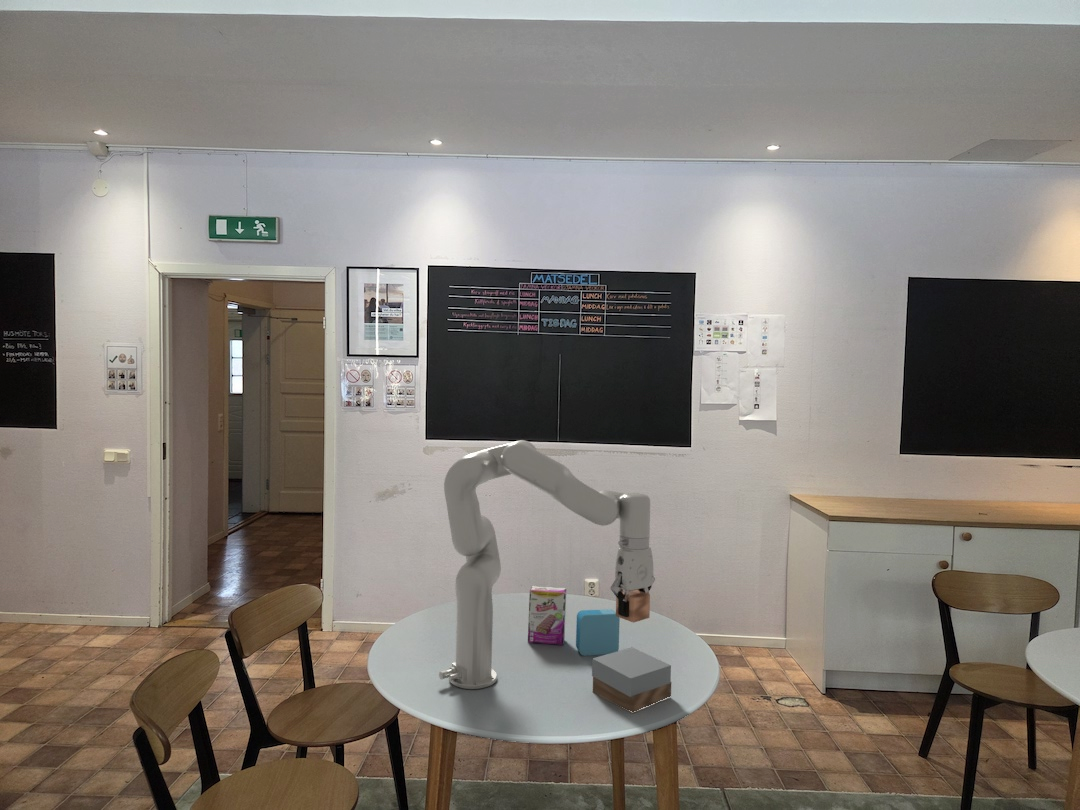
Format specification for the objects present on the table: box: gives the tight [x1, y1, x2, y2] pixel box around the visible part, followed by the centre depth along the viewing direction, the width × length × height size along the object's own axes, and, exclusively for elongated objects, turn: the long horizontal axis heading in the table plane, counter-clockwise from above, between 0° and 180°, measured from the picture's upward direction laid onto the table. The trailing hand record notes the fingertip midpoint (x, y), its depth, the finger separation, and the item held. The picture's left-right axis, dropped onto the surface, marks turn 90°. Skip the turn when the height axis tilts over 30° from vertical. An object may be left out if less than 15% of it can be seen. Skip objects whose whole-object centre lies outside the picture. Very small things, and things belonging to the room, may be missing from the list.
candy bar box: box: [527, 585, 567, 646], centre depth 203 cm, size 11×5×16 cm, turn 84°
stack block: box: [615, 590, 651, 624], centre depth 168 cm, size 6×6×6 cm
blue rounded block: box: [575, 608, 621, 657], centre depth 196 cm, size 12×4×12 cm, turn 102°
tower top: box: [591, 646, 672, 697], centre depth 168 cm, size 14×14×4 cm
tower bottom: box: [592, 676, 672, 712], centre depth 169 cm, size 14×14×4 cm
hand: (632, 612), depth 168 cm, fingers closed on stack block, 6 cm apart
